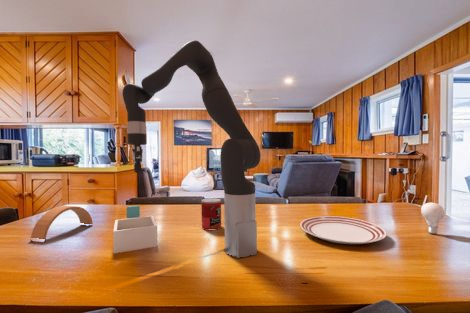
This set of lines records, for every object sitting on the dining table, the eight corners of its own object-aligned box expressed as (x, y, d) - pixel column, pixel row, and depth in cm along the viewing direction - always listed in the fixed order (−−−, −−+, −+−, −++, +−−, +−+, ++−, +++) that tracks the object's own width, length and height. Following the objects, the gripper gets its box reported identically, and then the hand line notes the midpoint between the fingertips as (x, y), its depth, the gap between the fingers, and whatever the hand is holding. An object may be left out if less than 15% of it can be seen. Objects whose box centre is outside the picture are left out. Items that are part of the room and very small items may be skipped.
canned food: (212, 231, 87) (211, 202, 87) (197, 228, 92) (197, 200, 92) (225, 226, 93) (225, 199, 93) (210, 223, 98) (210, 197, 98)
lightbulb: (449, 237, 78) (449, 204, 78) (427, 236, 80) (427, 204, 80) (437, 231, 85) (436, 201, 85) (417, 230, 86) (416, 200, 86)
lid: (152, 232, 88) (152, 211, 88) (115, 237, 83) (114, 215, 83) (149, 222, 102) (148, 204, 102) (116, 226, 96) (116, 207, 96)
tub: (157, 248, 72) (157, 225, 72) (113, 256, 67) (113, 231, 67) (152, 235, 84) (152, 215, 84) (115, 240, 79) (115, 219, 79)
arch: (30, 241, 80) (29, 212, 80) (82, 225, 99) (81, 201, 99) (43, 243, 78) (42, 213, 78) (93, 226, 97) (93, 202, 97)
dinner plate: (403, 253, 66) (403, 242, 66) (303, 247, 72) (303, 236, 72) (368, 225, 93) (368, 217, 93) (298, 222, 99) (297, 214, 99)
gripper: (148, 131, 92) (148, 172, 92) (145, 135, 105) (145, 171, 105) (127, 130, 89) (128, 173, 89) (126, 134, 102) (127, 172, 102)
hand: (137, 172), depth 97 cm, fingers open, 8 cm apart
